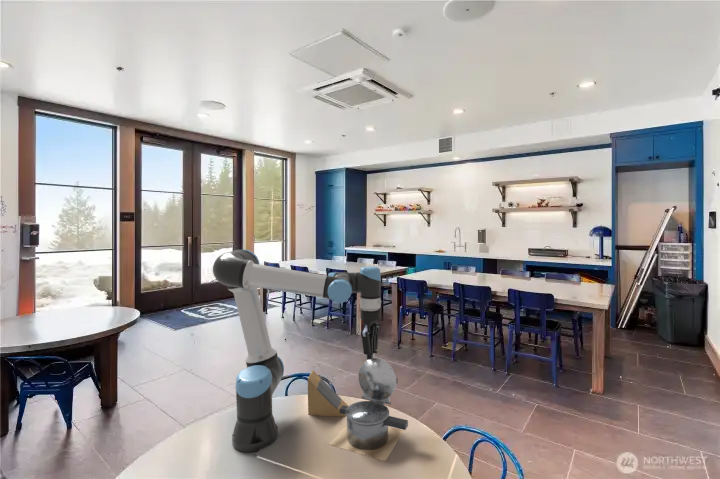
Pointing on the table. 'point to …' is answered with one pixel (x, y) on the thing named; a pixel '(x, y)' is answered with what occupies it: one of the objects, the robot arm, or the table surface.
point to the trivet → (376, 453)
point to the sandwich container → (322, 398)
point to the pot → (369, 424)
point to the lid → (377, 380)
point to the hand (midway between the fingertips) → (370, 370)
